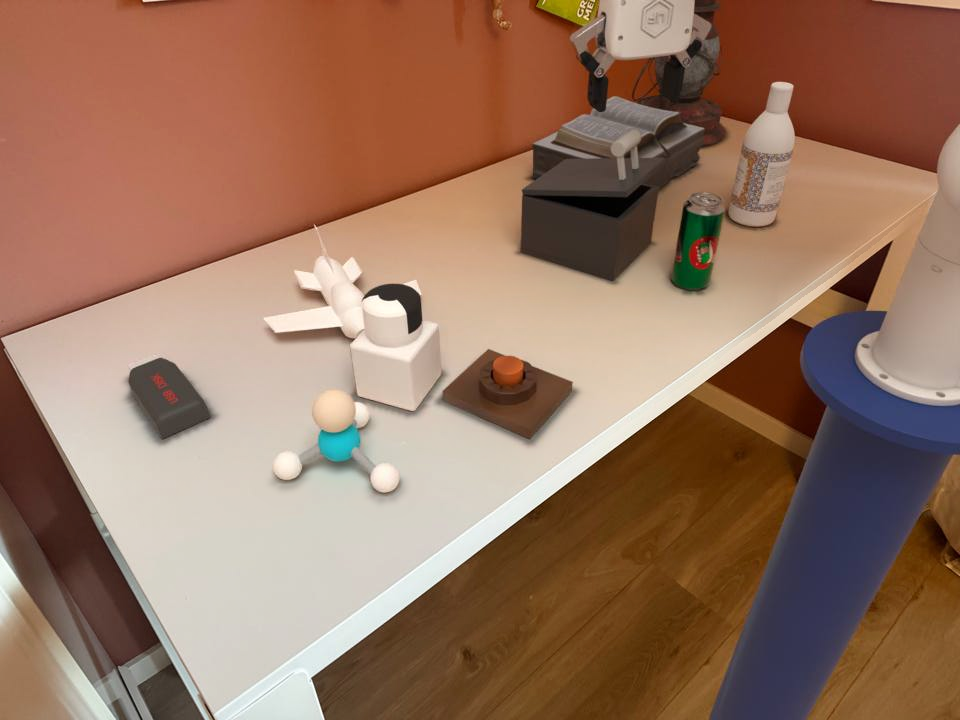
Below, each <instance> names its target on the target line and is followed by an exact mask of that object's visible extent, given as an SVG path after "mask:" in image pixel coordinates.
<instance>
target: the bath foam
mask: <svg viewBox="0 0 960 720" xmlns="http://www.w3.org/2000/svg"><path fill="white" fill-rule="evenodd" d="M793 91H794V84H792V83H790V82H786V81H775V82H772V83H771V84H770V89H769V93H768V97H767V100H766V107H765V110H764V111H762V113H761V114H759V116H757V118H756V119H755V120H754V121H753V122H752V123H751V125H750V126H749V127H748V129H747V131H746V134H745V136H744V139H743V141H742V146H741V150H740V154H739V159H738V165H737V168H736V169H737V170H736V173H735V178H734V183H733V188H732V192H731V197H730V202H729V206H728V216H729V218H730V220H732V221H734V222H735V223H737V224H739V225H742V226H745V227H756V228H758V227H765V226H768V225H769V226H770V225H771V224H772V223H774V221H775V220H776V218H777V214H778V209H779V206H780V202H781V199H782V194H783V191H784V187H785V185H786V184H785V183H786V179H787V175H788V172H789V168H790V164H791V161H792V158H793V153H794V149H795V142H796V141H795V140H796V136H795V129H794V126H793V122H792V120H791V118H790V114H789V112H788V111H789V107H790V104H791V99H792V97H793Z"/></svg>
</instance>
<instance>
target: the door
mask: <svg viewBox="0 0 960 720" xmlns="http://www.w3.org/2000/svg"><path fill="white" fill-rule="evenodd" d="M640 141H641V134H640V133H639V131H637V130H630V131H629V132H628V133H626V134H625V135H623V136H622V137H621V138H619V139H618V140H617V141H615V142H614V143H613V144H612V145H611V152H612V154H613V155H614V156H616V157H617V158H591V159H565V160H564V161H562V162H561V163H559V164H558V165H557V166H555V167H554V168H552V169H551V170H549V171H548V172H546V173H545V174H544V175H542V176H541V177H539V178H538V179H536V178H535V180H534V181H532V182H530V183H529V184H528V185H526V186H525V187H523V188H522V189H521V195H546V196H591V197H628V196H629V195H630V194H631V193H632V192H633V191H635V190H636V189H637V188H638V187H639V186H640V185H641V184H643V183H644V182H645V181H646V180H647V179H648V178H650V177H651V176H652V175H653V174H654V173H655V172H657V171H658V170H659V169H660V168H661V167H662V166H663V165H665V164H666V158H638V152H637V144H639V143H640ZM628 151H630V152H631V158H624V154H626V153H627V152H628Z"/></svg>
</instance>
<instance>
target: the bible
mask: <svg viewBox="0 0 960 720" xmlns="http://www.w3.org/2000/svg"><path fill="white" fill-rule="evenodd" d="M589 113H590V114H586V113H585V114H580V115H579V116H577V117H576V118H574V119H572V120H571V121H568V122H566V123H564V124H562V125H560V126H559V129H558V131H556V132H554V133H551V134H549V135H548V136H546V137H544V138H541V139H539V140H537V141H535V142H533V143H532V174H531V175H532V176H531V178H533V179H535V180H536V179H538V178H539V177H541V176H542V175H544V174H545V173H546V172H548V171H549V170H551V169H552V168H554V167H555V166H557V165H558V164H559V163H561V162H562V161H564V160H565V159H591V158H617V157H616V156H614V155H613V154H612V152H611V145H612V144H613V143H614V142H615V141H617V140H618V139H619V138H621V137H622V136H623V135H625V134H626V133H628V132H629V131H630V130H637V131H639V133H640V134H641V141H640V143H639V144H637V152H638V158H666V164H665V165H663V166H662V167H661V168H660V169H659V170H658V171H657V172H655V173H654V174H653V175H652V176H651V177H650V178H648V179H647V180H646V181H645V182H644V183H646V184H650V185H654V186H658V187H659V190H660V189H661V188H662V187H665V185H666V184H668V183H669V182H670V181H671V179H673V178H674V177H677V178H678V177H679V176H681V175H683V174H684V173H686V172H688V171H689V170H690V169H691V168H694V167H695V166H696V165H698V162H700V158H701V156H700V154H699V152H700V150H701V149H702V147H701V145H702V141H703V134H704V131H705V129H704V128H702V127H698V126H694V125H689V124H685V123H683V122H682V120H681V118H680V114H679V113H678V112H672V111H666V110H661V109H656V108H651V107H647V106H644V105H640V104H637V102H634V101H630V100H627V99H625V98H622V97H620V96H616V95H614V96H611V97H610V98H607V103H606V110H605V111H604V112H598V111H597V110H596V109H594V108H593V107H592V109H591V111H590V112H589ZM624 158H631V152H630V151H628V152H627V153H626V154H624Z"/></svg>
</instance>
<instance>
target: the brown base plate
mask: <svg viewBox="0 0 960 720" xmlns="http://www.w3.org/2000/svg"><path fill="white" fill-rule="evenodd" d="M501 356H506V355H505V354H503V353H500V352H497V351H495V350H492V349H490V348H488V349H487V350H485V351H484V352H483V353H481V355H480V356H478V358H477V359H475V361H474V362H472V363H471V364H470V365H469V366H468V367H467V368H466V369H464V371H462V372H461V373H460V374H459V375H458V376H457V377H456V378H455V379H454V380H453V381H451V382H450V383H449V384H448V385H447V386H446V387H445V388H444V389H443V390H442V401H443V402H445V403H448V404H450V405H452V406H454V407H456V408H459V409H461V410H464V411H466V412H468V413H470V414H473V415H475V416H476V417H479V418H481V419H483V420H486V421H488V422H490V423H492V424H494V425H497V426H499V427H501V428H504V429H506V430H508V431H510V432H512V433H515V434H517V435H520V436H522V437H524V438H526V439H529V440H531V439H532V437H534V435H535V434H536V433H537V432H538V431H539V429H540V428H541V427H542V426H543V425H544V424H546V423H545V422H546V421H548V420H549V418H550V417H551V416H552V415H553V414H554V412H555V411H556V410H557V409H558V408H559V407H560V406H561V404H563V402H564V401H565V400H566V398H568V396H569V395H570V394H571V393H572V392H573V381H572V380H569V379H566V378H563V377H561V376H559V375H556V374H554V373H551V372H548V371H547V370H543V369H542V368H538V367H536V366H533V365H532V364H531V363H530V362H528V361H526V360H523V359H521V358H519V359H520V360H521V361H522V362H523V380H522V381H521V382H520V383H519V384H518V385H515V386H501V385H499V384H497V383H496V382H495V381H494V379H493V363H494V361H495V360H496V359H497V358H499V357H501Z"/></svg>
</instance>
